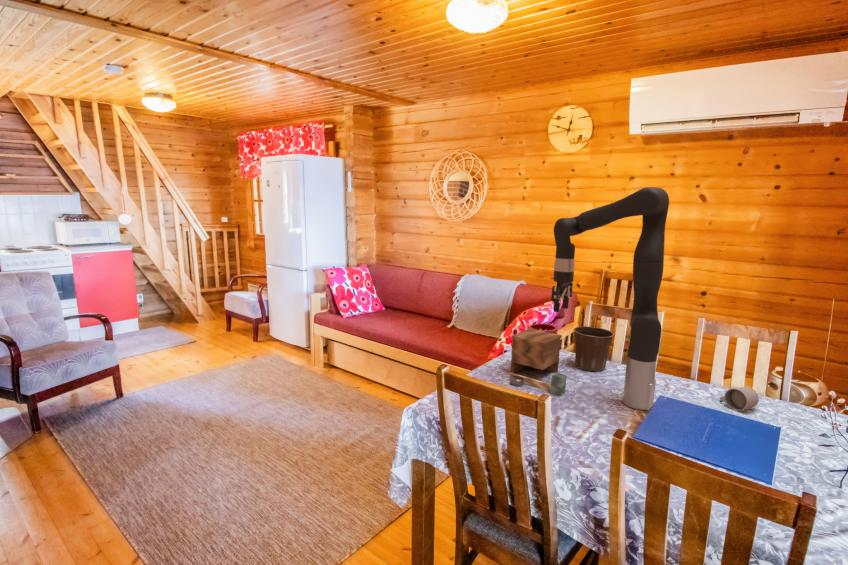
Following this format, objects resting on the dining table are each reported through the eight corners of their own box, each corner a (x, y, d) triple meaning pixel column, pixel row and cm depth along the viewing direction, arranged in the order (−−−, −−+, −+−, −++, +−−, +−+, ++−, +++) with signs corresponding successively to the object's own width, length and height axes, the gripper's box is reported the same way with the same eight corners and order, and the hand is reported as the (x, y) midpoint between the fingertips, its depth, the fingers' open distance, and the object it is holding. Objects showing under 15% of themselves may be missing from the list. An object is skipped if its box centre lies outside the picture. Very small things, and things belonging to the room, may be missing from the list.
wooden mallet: (565, 392, 167) (566, 375, 165) (560, 396, 164) (562, 378, 162) (512, 377, 181) (513, 360, 179) (507, 380, 178) (508, 363, 176)
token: (525, 383, 175) (525, 377, 174) (520, 388, 170) (520, 381, 170) (513, 380, 177) (513, 375, 177) (508, 385, 173) (508, 378, 173)
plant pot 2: (538, 344, 224) (539, 321, 222) (560, 351, 214) (562, 327, 212) (521, 349, 216) (523, 325, 214) (544, 356, 206) (546, 331, 204)
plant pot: (616, 367, 194) (620, 331, 192) (601, 377, 183) (605, 339, 180) (580, 358, 205) (583, 324, 203) (564, 366, 194) (567, 330, 191)
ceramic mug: (759, 410, 155) (762, 389, 154) (745, 414, 152) (748, 393, 150) (727, 398, 165) (730, 378, 163) (713, 402, 161) (716, 382, 160)
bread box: (558, 371, 188) (561, 335, 185) (541, 383, 175) (544, 343, 173) (527, 363, 197) (529, 328, 194) (508, 373, 185) (510, 336, 182)
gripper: (565, 272, 166) (562, 314, 169) (580, 268, 177) (577, 308, 180) (546, 270, 171) (544, 311, 174) (562, 266, 181) (559, 305, 184)
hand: (560, 310), depth 177 cm, fingers open, 8 cm apart
